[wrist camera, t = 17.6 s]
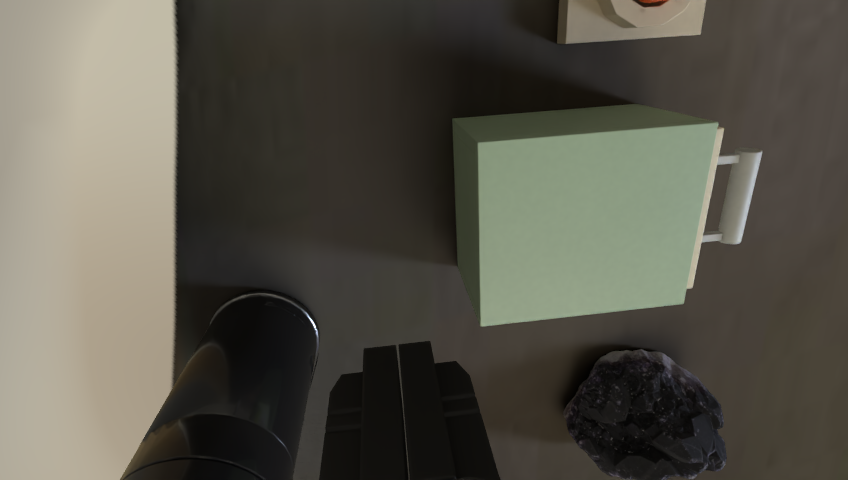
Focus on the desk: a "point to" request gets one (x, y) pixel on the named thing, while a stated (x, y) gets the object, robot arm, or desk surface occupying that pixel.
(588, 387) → the crystal cluster
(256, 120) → the desk surface
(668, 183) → the box
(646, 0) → the button
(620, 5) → the control pad
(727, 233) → the basket drawer
